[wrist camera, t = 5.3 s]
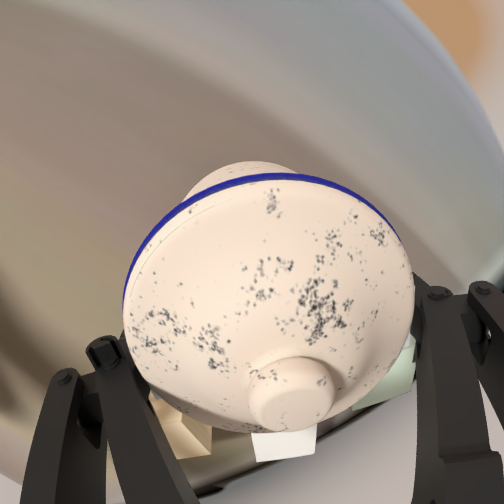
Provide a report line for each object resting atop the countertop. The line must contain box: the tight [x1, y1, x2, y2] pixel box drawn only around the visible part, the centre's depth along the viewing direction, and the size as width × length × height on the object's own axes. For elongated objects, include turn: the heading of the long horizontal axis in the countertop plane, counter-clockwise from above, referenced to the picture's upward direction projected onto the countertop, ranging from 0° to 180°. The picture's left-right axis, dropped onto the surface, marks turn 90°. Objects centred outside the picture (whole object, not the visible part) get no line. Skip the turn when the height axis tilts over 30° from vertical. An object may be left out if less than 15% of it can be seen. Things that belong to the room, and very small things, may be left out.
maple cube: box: [149, 390, 212, 459], centre depth 23 cm, size 5×5×5 cm
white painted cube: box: [251, 424, 317, 462], centre depth 23 cm, size 5×5×5 cm
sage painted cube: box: [351, 335, 416, 411], centre depth 22 cm, size 5×5×5 cm
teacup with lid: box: [122, 161, 415, 433], centre depth 12 cm, size 12×9×12 cm
